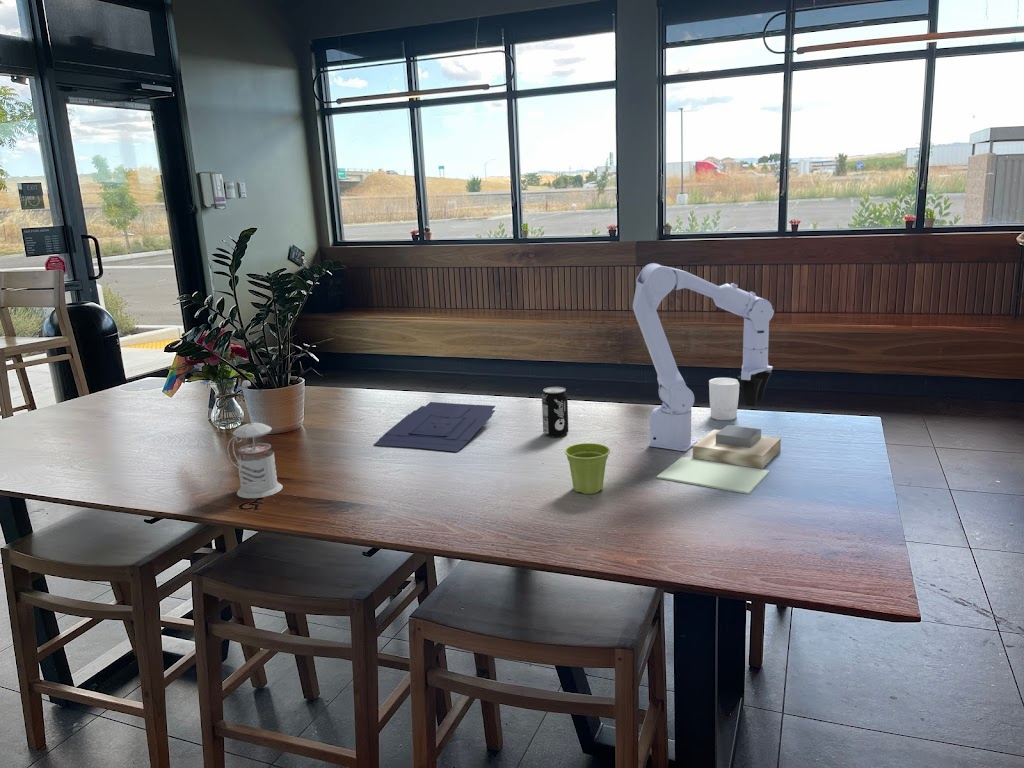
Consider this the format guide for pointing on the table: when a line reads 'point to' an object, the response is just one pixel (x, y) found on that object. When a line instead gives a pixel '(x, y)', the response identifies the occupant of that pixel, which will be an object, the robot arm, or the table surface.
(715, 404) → the white cup
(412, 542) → the table surface
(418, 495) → the table surface
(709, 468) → the mat
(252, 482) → the french press
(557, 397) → the beverage can
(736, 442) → the tile
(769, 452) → the board
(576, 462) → the plant pot
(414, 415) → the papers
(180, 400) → the table surface
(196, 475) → the table surface
